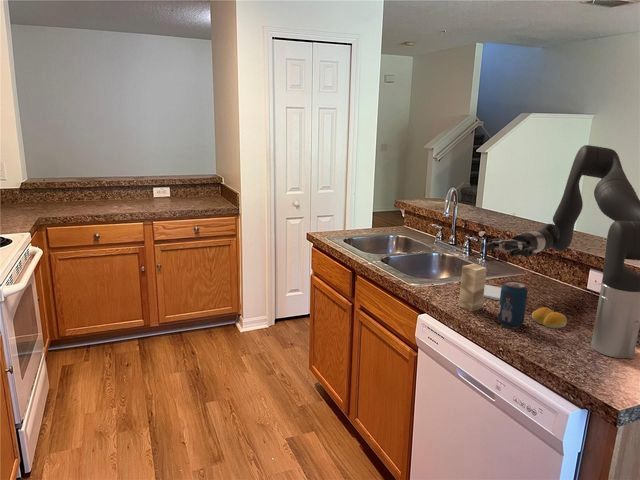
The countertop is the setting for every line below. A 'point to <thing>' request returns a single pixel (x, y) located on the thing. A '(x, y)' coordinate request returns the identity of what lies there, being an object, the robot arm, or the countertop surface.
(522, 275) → the countertop surface
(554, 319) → the bread roll
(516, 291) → the soda can
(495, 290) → the ceramic tile
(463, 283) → the maple block
